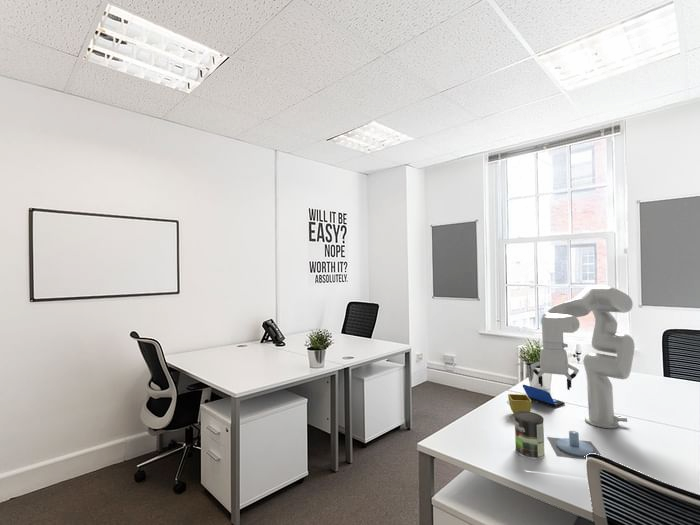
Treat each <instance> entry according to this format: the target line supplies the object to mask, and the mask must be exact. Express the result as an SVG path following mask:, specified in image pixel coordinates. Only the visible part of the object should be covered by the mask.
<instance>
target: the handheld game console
mask: <svg viewBox="0 0 700 525" xmlns="http://www.w3.org/2000/svg"><path fill="white" fill-rule="evenodd" d="M522 388H523V391H524V392H525V395H527V396H528V397H529V399H530V400H531V402H536V403H539V404H543V405H544V406H546V407H550V408H554V409H556V408H558V407H559V408H560V407H562V406H565V402H564V401H561V400H559V399H556V398H553V397H552V395H551V393H550V392H549V391H547V390H545V389H541V388H537V387H534V386H530V385H527V384H522Z"/></svg>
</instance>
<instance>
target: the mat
mask: <svg viewBox="0 0 700 525" xmlns="http://www.w3.org/2000/svg"><path fill="white" fill-rule="evenodd" d="M546 438H547V441H548V442H549V444H550V446H551V448H552V449H553V451H554V453H555V455H556V457H561V458H568V459H569V458H570V459H577V460H579V459H580V460H586V456H585V457H584V456H575V455H571V454H568V453H566V452H563V451H562V450H560V449H559V448H558V447H557V440H559V439H562V438H563V437H562V438H560V437H551V436H547V437H546ZM579 440H580V441H583V442H585V443H587V444H589V445H590V446H591V447H592V448H593V453H596V454H599V455H602V454H601V453H600V451H599V449H598V448H596V445H594V443H593V442H592V441H590V440H589V441H588V440H581V439H579Z"/></svg>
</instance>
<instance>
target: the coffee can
mask: <svg viewBox="0 0 700 525" xmlns="http://www.w3.org/2000/svg"><path fill="white" fill-rule="evenodd" d="M513 417H514V435H515V436H514V438H515V440H514V441H515V442H514V443H515V453H517V455H519V456H523V457H524V458H529V459H535V460H536V459H543V458H544V457H545V455H546V453H545V437H544V436H545V435H544V434H545V433H544V432H545V431H544V430H545V429H544V427H545V426H544V421H545V420H544V419H545V418H544V417H543V416H542V415H540V414H538V413H537V412H532V411H530V412H528V411H519V412H516V413H514V414H513Z"/></svg>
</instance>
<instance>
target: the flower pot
mask: <svg viewBox="0 0 700 525" xmlns="http://www.w3.org/2000/svg"><path fill="white" fill-rule="evenodd" d="M507 397H508V402H509V404H508V405H509V407H510V409H511V412H512V414H513V415H514V413H516V412H519V411H528V412H532V410H531V409H532V400H530V399H529V397H528V396H527V394H513V393H508V394H507Z"/></svg>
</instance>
